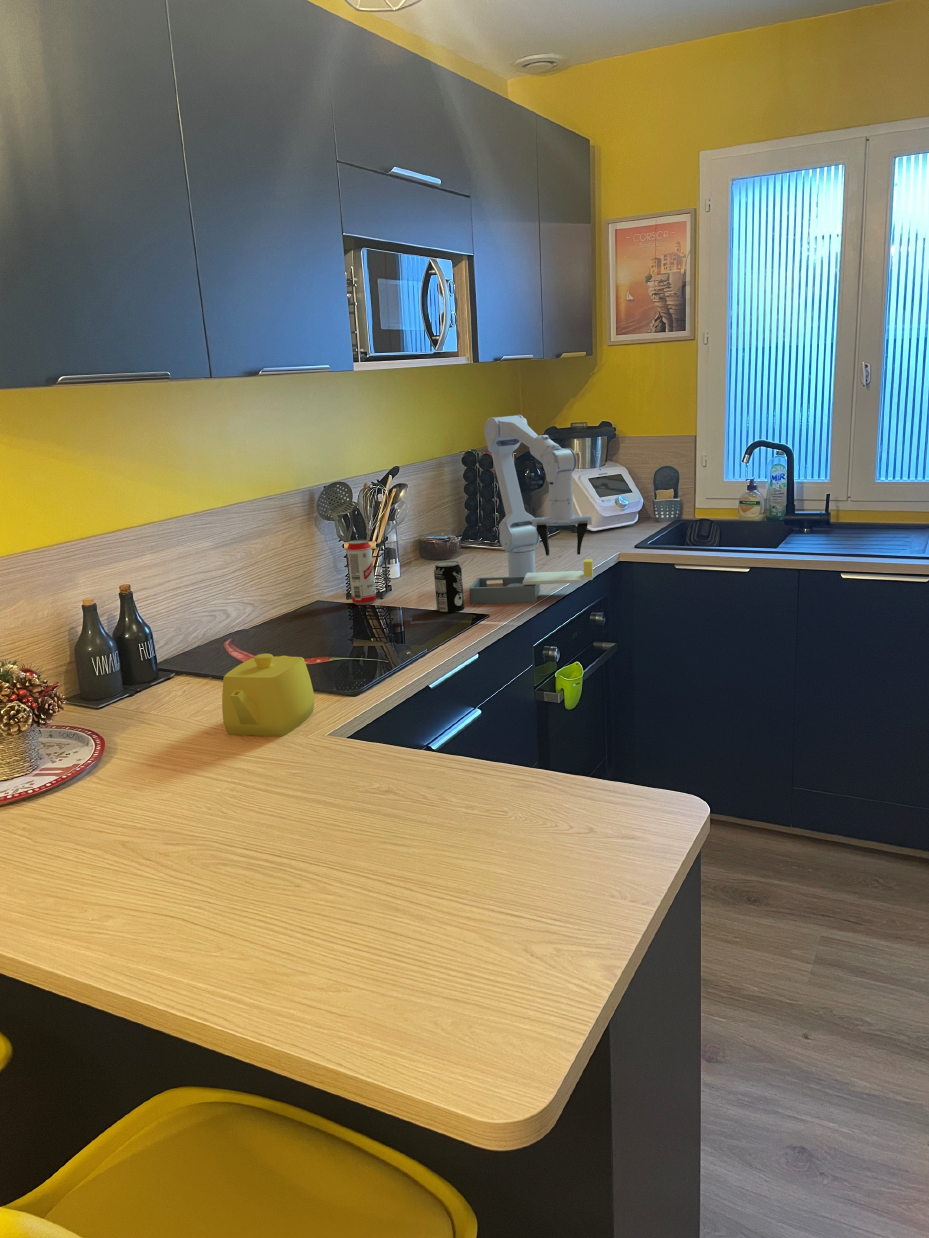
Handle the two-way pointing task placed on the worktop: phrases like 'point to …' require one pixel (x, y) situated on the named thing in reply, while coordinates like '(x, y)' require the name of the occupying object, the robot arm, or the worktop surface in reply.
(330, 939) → the worktop surface
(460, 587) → the beverage can
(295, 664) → the teapot
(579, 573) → the lid
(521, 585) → the brown cube
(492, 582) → the tan block
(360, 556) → the beer can
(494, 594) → the tub
